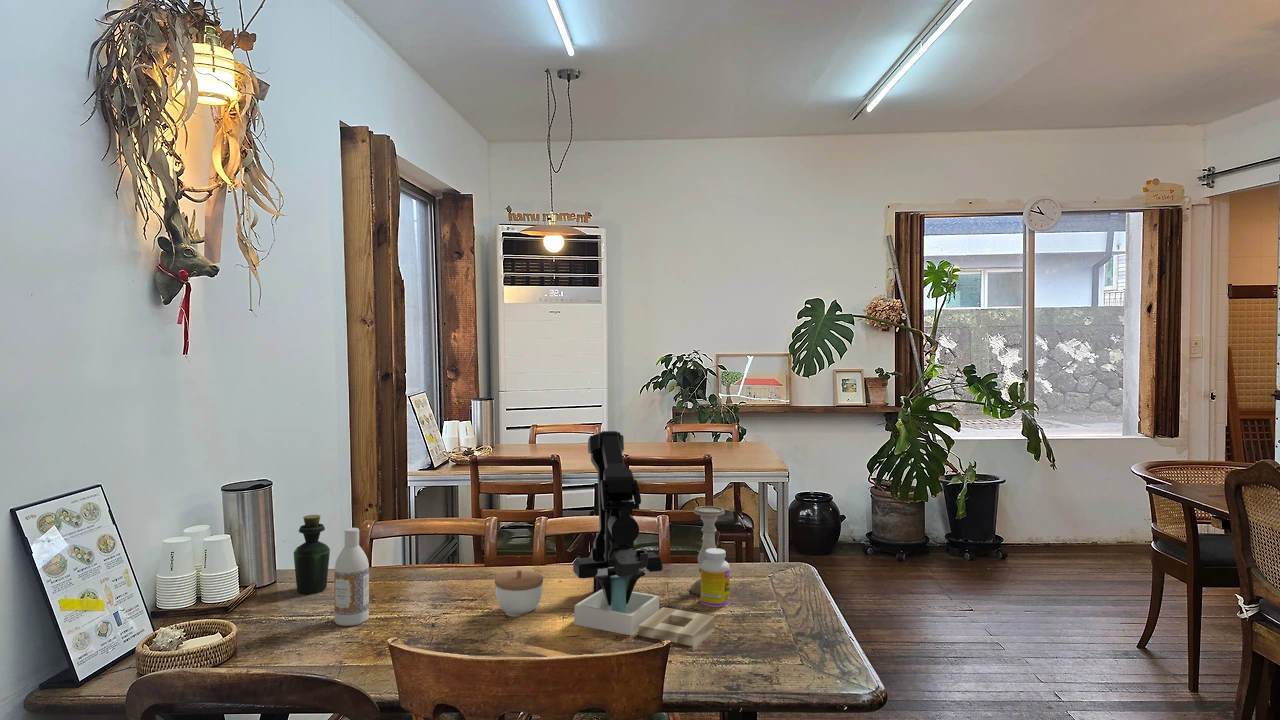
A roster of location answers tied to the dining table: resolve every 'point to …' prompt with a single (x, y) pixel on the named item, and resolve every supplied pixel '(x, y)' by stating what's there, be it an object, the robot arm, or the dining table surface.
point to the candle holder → (706, 536)
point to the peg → (618, 594)
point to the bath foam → (351, 582)
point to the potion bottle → (311, 558)
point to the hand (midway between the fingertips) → (617, 604)
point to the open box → (615, 613)
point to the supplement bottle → (715, 578)
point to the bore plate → (689, 634)
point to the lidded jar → (518, 592)
